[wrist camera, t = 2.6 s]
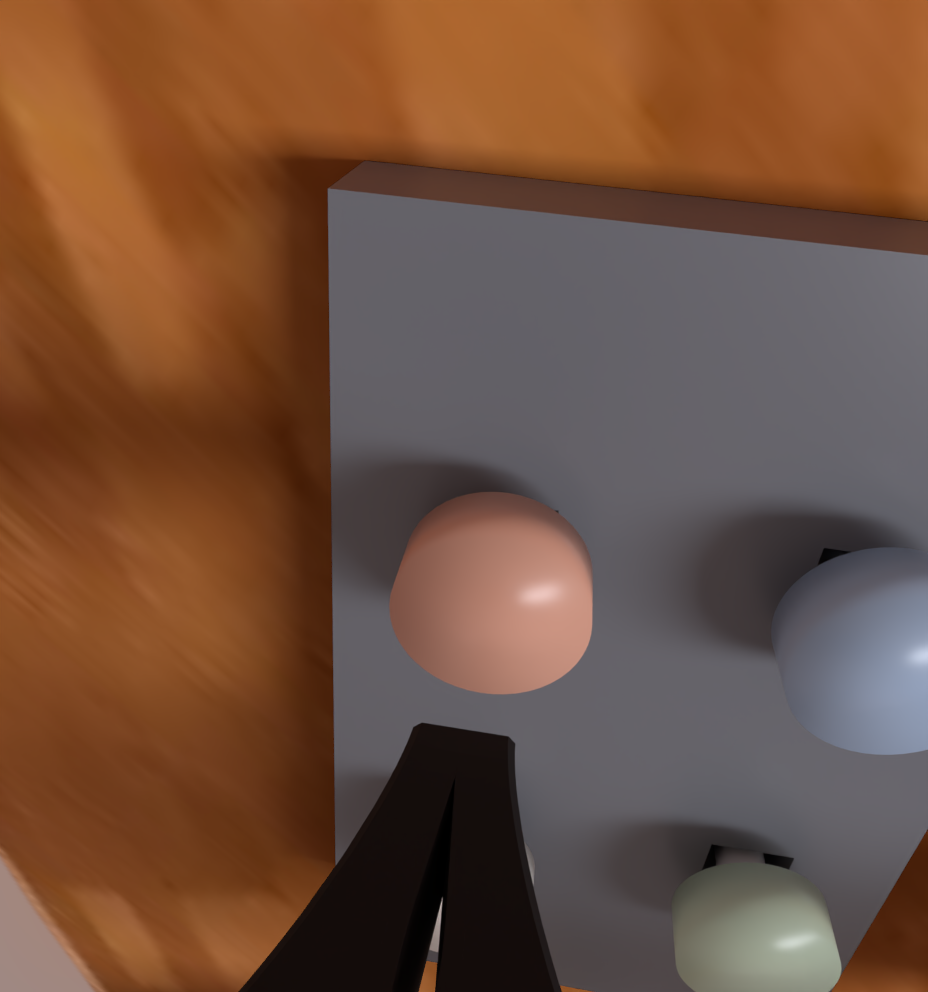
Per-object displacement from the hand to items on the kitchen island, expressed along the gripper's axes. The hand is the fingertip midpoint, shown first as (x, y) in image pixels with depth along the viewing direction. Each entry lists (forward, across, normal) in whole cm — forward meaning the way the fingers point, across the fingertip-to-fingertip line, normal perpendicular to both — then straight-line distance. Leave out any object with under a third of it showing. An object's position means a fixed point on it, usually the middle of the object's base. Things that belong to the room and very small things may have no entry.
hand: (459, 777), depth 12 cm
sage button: (+7, -7, +9) cm, 13 cm away
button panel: (+8, -4, +4) cm, 10 cm away
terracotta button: (+7, 0, 0) cm, 7 cm away
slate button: (+7, -7, 0) cm, 10 cm away
